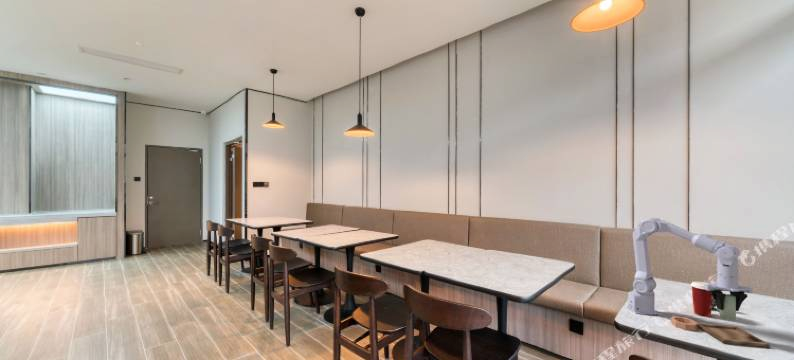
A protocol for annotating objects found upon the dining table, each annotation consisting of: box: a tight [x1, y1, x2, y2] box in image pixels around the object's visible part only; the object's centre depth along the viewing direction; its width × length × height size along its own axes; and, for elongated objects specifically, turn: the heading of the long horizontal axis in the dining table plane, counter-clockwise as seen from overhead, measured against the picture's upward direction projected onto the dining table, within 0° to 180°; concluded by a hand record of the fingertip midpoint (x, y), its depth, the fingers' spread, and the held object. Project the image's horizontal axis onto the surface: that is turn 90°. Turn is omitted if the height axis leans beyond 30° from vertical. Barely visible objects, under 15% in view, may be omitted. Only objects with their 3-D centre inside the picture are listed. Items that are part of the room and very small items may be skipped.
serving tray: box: [696, 322, 771, 349], centre depth 120 cm, size 14×14×1 cm
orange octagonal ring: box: [670, 315, 698, 332], centre depth 129 cm, size 8×8×2 cm
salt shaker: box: [711, 298, 718, 312], centre depth 146 cm, size 6×6×12 cm
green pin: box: [719, 292, 737, 322], centre depth 121 cm, size 4×4×9 cm
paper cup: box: [690, 281, 713, 318], centre depth 140 cm, size 8×8×14 cm
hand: (727, 309), depth 121 cm, fingers closed on green pin, 4 cm apart
